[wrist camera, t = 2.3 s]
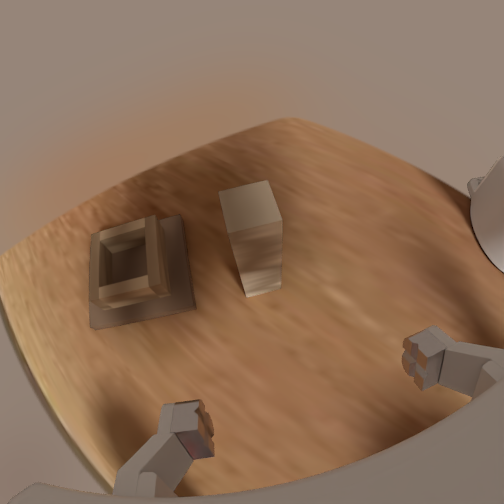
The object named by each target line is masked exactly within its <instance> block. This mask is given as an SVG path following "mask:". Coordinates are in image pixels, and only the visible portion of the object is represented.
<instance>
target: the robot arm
mask: <svg viewBox="0 0 504 504" xmlns="http://www.w3.org/2000/svg"><path fill="white" fill-rule="evenodd" d="M467 186H468V190H469V193H470V197H471V207H470V214H471V221H472V225H473V229H474V232H475V234H476V237H477V239H478V241H479V243H480V245H481V247H482V248H483V250H484V252H485V253H486V255H487V256H488V257H489V259H490V260H491V261H492V262H493V263H494V264H495V265H496V266H497V267H498V268H499V269H500V270H501V271H502V272H504V157H503V156H500V157H499V158H498V160H497V161H496V162H495V164H494V165H493V166H492V168H491V169H490V171H489V172H488V173H487V175H486V176H485V177H480V178H474V179H471V180H470V181H469V182H468V184H467ZM403 348H404V349H405V351H404V353H403V355H402V364H403V368H404V370H405V372H406V373H407V374H408V375H409V376H412V377H414V383H415V384H416V385H417V386H418V387H419V388H420V390H421V391H423V390H425V389H427V388H429V387H431V386H433V385H435V384H437V383H438V384H440V385H442V386H445V387H448V388H450V389H453V390H455V391H458V392H460V393H463V394H466V395H468V396H471V397H472V399H471V402H469V403H468V404H466V405H465V406H463V407H462V408H460V409H459V410H457V411H456V412H454V413H453V414H451V415H449V416H448V417H446V418H444V419H443V420H441V421H439V422H438V423H436V424H434V425H432V426H431V427H429V428H427V429H425V430H423V431H422V432H420V433H418V434H416V435H414V436H412V437H410V438H408V439H406V440H404V441H402V442H400V443H398V444H396V445H394V446H392V447H389V448H387V449H385V450H383V451H380V452H378V453H376V454H373V455H371V456H369V457H366V458H364V459H361V460H358V461H356V462H353V463H350V464H348V465H345V466H342V467H339V468H336V469H333V470H330V471H327V472H324V473H321V474H317V475H314V476H310V477H307V478H303V479H299V480H296V481H291V482H287V483H283V484H279V485H274V486H269V487H264V488H259V489H253V490H247V491H241V492H234V493H226V494H217V495H207V496H193V497H178V496H177V495H176V494H175V493H174V492H173V491H174V490H175V488H176V487H177V485H178V484H179V482H180V481H181V479H182V478H183V476H184V475H185V473H186V472H187V470H188V469H189V467H190V466H191V464H192V463H193V460H195V459H202V458H209V457H215V456H214V442H213V441H212V439H211V438H212V437H213V436H214V428H213V423H212V420H211V417H210V415H209V413H207V412H205V405H204V403H203V402H202V400H200V399H199V400H192V401H184V402H176V403H170V404H164V405H163V406H162V408H161V414H160V419H159V425H158V431H157V435H153V436H152V437H151V438H150V439H149V440H148V441H147V442H146V443H145V444H144V445H143V446H142V447H141V448H140V449H139V450H138V451H137V452H136V453H135V454H134V455H133V456H132V457H131V458H130V459H129V460H128V461H127V462H126V463H125V464H124V465H123V466H122V467H121V468H120V469H119V470H118V472H117V476H116V480H115V485H114V489H113V494H112V495H108V494H99V493H92V492H85V491H79V490H72V489H68V488H63V487H58V486H54V485H50V484H46V483H41V482H37V483H34V484H32V485H30V486H28V487H27V488H25V489H24V490H23V491H21V492H20V493H18V494H17V495H15V496H14V497H13V498H12V499H10V501H9V502H8V504H504V349H500V348H494V347H488V346H482V345H477V344H471V343H466V342H460V341H459V342H455V341H454V340H453V339H452V338H451V337H449V336H448V335H447V334H446V333H444V332H443V331H442V330H441V329H440V328H438V327H437V326H435V325H432V326H430V327H428V328H426V329H424V330H422V331H420V332H418V333H416V334H414V335H412V336H409V337H407V338H405V339H404V341H403Z"/></svg>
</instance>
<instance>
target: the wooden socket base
mask: <svg viewBox="0 0 504 504" xmlns="http://www.w3.org/2000/svg"><path fill="white" fill-rule="evenodd" d="M194 309H196V303H195V298H194V292H193V286H192V280H191V273H190V267H189V260H188V254H187V247H186V240H185V232H184V225H183V219H182V217H181V215H180V214H179V215H176V216H172V217H168V218H165V219H161V220H158V219H157V217H156V215H152V216H149V217H145V218H142V219H139V220H135V221H132V222H129V223H125V224H122V225H119V226H116V227H113V228H110V229H106V230H103V231H100V232H97V233H94V234H92V235H91V246H90V267H89V318H90V328H92V329H94V330H99V329H104V328H109V327H114V326H119V325H124V324H129V323H134V322H139V321H144V320H149V319H153V318H158V317H162V316H167V315H172V314H176V313H181V312H185V311H189V310H194Z"/></svg>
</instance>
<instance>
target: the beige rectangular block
mask: <svg viewBox="0 0 504 504" xmlns="http://www.w3.org/2000/svg"><path fill="white" fill-rule="evenodd" d="M218 193H219V198H220V202H221V207H222V211H223V215H224V220H225V224H226V228H227V233H228V236H229V240H230V243H231V247H232V250H233V253H234V257H235V260H236V264H237V267H238V270H239V274H240V277H241V281H242V284H243V287H244V291H245V294H246V297H251V296H255V295H259V294H263V293H266V292H270V291H274V290H278V289H281V275H282V223H283V220H282V217H281V214H280V212H279V209H278V206H277V203H276V201H275V198H274V195H273V193H272V190H271V187H270V185H269V182H268V180H265V181H260V182H256V183H252V184H247V185H243V186H239V187H235V188H231V189H227V190H223V191H219V192H218Z"/></svg>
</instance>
